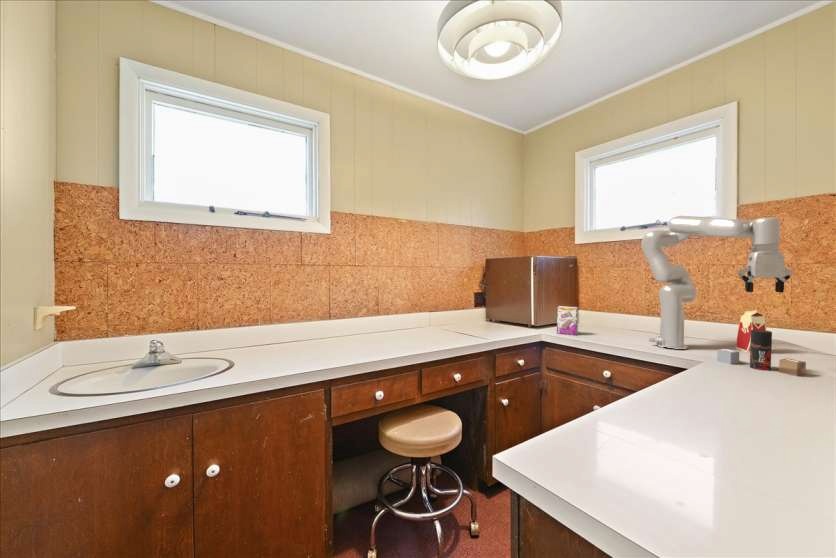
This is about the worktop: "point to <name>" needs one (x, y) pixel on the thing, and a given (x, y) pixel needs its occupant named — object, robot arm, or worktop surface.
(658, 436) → the worktop surface
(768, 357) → the deodorant
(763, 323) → the milk carton
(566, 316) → the candy bar box
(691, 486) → the worktop surface
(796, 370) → the walnut block
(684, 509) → the worktop surface
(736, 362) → the grey block
